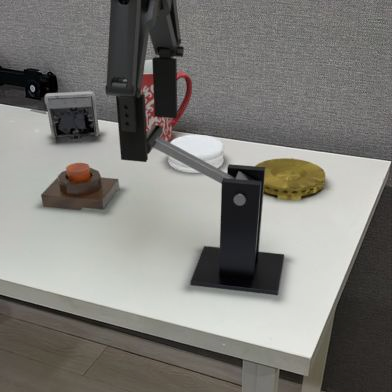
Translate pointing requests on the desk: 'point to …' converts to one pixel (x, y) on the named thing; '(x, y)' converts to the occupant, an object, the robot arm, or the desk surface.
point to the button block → (80, 192)
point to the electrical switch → (72, 116)
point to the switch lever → (187, 157)
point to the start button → (78, 172)
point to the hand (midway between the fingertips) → (151, 136)
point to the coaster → (198, 151)
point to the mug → (148, 90)
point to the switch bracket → (240, 240)
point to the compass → (292, 178)
